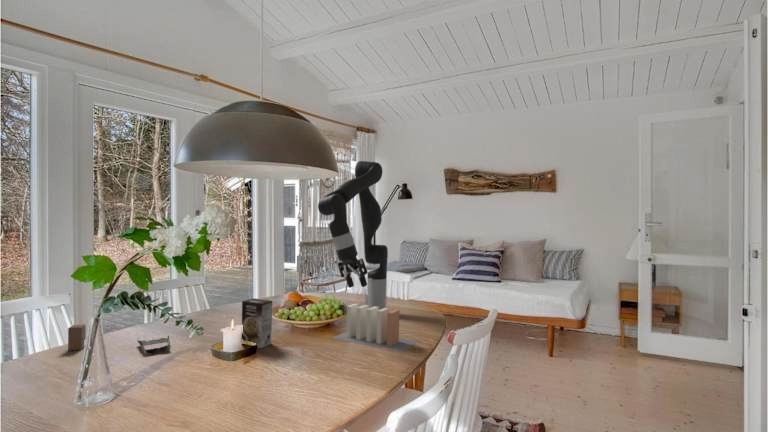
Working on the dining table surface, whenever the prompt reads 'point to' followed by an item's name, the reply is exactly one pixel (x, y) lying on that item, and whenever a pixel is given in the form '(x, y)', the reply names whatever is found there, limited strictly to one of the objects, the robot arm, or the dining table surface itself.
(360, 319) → the domino
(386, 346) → the grey ridged plate
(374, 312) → the domino
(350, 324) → the domino
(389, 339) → the domino
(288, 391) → the dining table surface
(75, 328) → the wooden block
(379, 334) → the domino
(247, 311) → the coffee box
